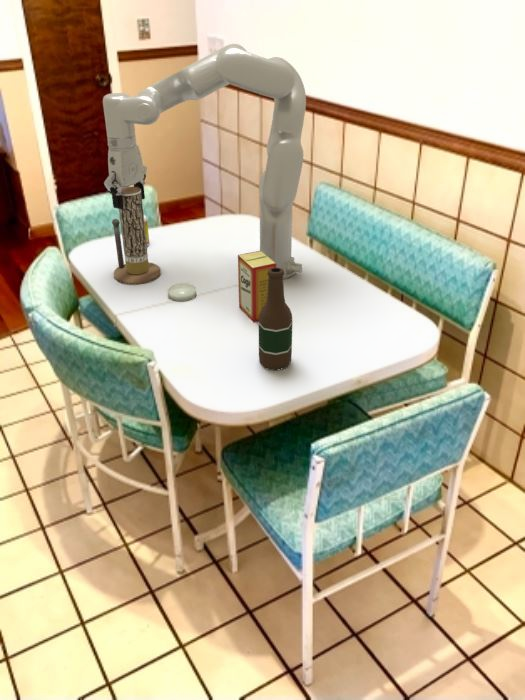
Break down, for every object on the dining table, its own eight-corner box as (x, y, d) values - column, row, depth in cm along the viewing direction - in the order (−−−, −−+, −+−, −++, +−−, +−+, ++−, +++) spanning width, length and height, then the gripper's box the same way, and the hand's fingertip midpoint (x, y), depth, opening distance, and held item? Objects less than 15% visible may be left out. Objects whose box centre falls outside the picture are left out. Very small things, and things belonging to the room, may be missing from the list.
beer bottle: (290, 353, 155) (292, 262, 143) (292, 370, 148) (295, 277, 136) (258, 353, 155) (257, 262, 142) (259, 371, 148) (258, 277, 136)
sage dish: (201, 292, 184) (201, 286, 183) (185, 303, 178) (185, 297, 177) (178, 286, 187) (178, 281, 186) (162, 297, 181) (162, 291, 180)
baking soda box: (275, 317, 171) (276, 262, 162) (253, 322, 168) (253, 266, 160) (260, 302, 178) (260, 249, 170) (239, 307, 176) (237, 253, 167)
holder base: (169, 270, 197) (165, 218, 188) (141, 288, 186) (135, 234, 177) (133, 262, 202) (127, 211, 194) (104, 278, 192) (96, 225, 183)
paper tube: (124, 268, 195) (114, 188, 182) (145, 264, 198) (137, 185, 184) (129, 277, 190) (120, 195, 177) (151, 273, 192) (143, 192, 179)
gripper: (112, 151, 166) (120, 214, 175) (152, 137, 179) (158, 196, 188) (90, 147, 169) (99, 210, 178) (131, 134, 182) (137, 193, 191)
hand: (129, 203), depth 183 cm, fingers open, 9 cm apart
